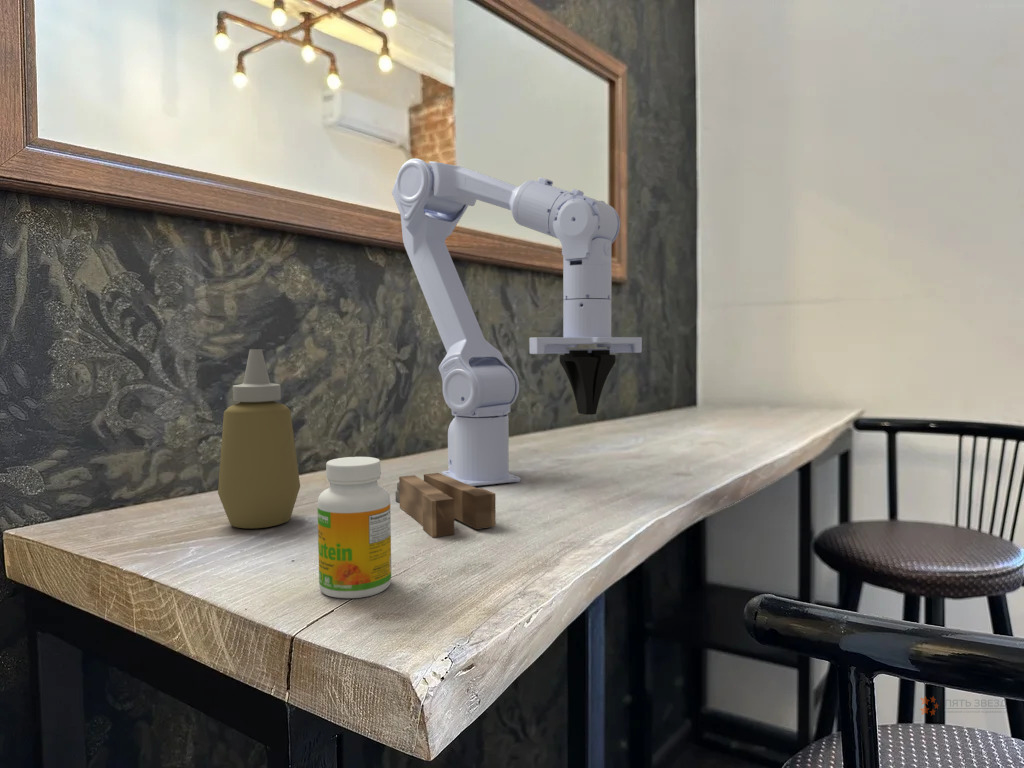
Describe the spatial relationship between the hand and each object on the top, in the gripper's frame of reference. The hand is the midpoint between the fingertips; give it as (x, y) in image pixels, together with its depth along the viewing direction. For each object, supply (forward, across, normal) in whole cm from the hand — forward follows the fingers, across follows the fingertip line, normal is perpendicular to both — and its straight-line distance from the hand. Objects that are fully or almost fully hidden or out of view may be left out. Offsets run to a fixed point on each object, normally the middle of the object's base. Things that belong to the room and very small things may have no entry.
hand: (587, 413), depth 82 cm
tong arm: (+10, -19, 0) cm, 21 cm away
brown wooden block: (+10, -20, 0) cm, 23 cm away
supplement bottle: (+10, -32, -19) cm, 39 cm away
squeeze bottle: (+10, -37, +4) cm, 39 cm away
